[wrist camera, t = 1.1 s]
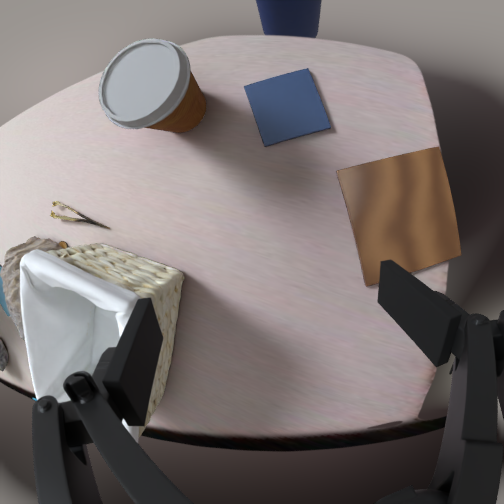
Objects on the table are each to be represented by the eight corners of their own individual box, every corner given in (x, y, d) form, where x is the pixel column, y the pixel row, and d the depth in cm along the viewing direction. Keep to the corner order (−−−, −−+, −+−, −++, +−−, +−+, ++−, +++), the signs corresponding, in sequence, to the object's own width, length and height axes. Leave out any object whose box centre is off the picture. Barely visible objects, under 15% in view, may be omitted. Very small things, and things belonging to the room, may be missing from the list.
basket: (169, 403, 42) (130, 466, 27) (86, 363, 43) (35, 408, 29) (195, 265, 36) (138, 307, 22) (93, 230, 38) (16, 249, 23)
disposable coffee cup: (150, 151, 35) (94, 138, 23) (148, 85, 33) (97, 53, 21) (222, 138, 33) (187, 112, 21) (216, 69, 31) (184, 22, 20)
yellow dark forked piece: (113, 221, 37) (107, 223, 36) (109, 239, 38) (103, 241, 37) (56, 199, 38) (50, 199, 37) (54, 215, 39) (48, 216, 37)
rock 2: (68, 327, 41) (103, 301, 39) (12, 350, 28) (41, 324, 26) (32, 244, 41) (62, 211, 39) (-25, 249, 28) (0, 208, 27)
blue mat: (307, 70, 30) (308, 68, 29) (330, 128, 31) (331, 127, 31) (244, 87, 32) (243, 86, 31) (264, 146, 33) (264, 146, 32)
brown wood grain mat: (437, 147, 29) (439, 146, 29) (459, 254, 31) (461, 255, 31) (336, 171, 32) (336, 170, 31) (365, 285, 34) (366, 286, 33)
